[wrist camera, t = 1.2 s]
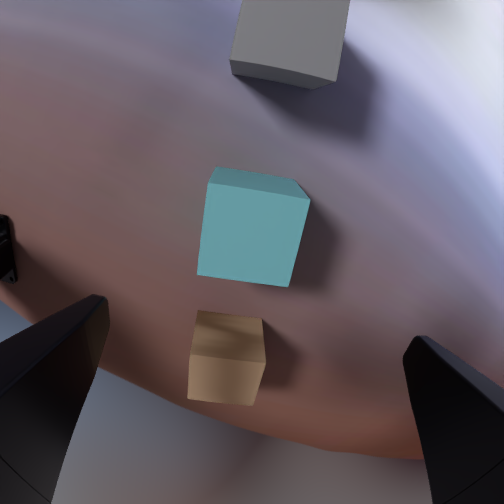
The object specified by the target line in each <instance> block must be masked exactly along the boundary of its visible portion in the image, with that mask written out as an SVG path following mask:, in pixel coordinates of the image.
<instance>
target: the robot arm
mask: <svg viewBox="0 0 504 504" xmlns="http://www.w3.org/2000/svg"><path fill="white" fill-rule="evenodd" d="M0 280H1V281H5V282H8V283H12V284H14V283H15V282H16V281H17V274H16V269H15V264H14V258H13V252H12V246H11V239H10V232H9V224H8V218H7V217H6V216H5V215H2V214H0ZM109 326H110V319H109V308H108V300H107V298H106V297H104V296H99V295H95V294H92V295H90V296H88V297H86V298H84V299H82V300H80V301H78V302H76V303H74V304H72V305H70V306H68V307H66V308H64V309H63V310H61V311H59V312H57V313H55V314H53V315H51V316H49V317H47V318H45V319H43V320H42V321H40V322H38V323H36V324H34V325H32V326H30V327H29V328H27V329H25V330H23V331H21V332H19V333H17V334H15V335H13V336H12V337H10V338H8V339H6V340H4V341H3V342H1V343H0V504H51V501H52V498H53V495H54V491H55V488H56V484H57V481H58V477H59V474H60V471H61V467H62V464H63V461H64V458H65V455H66V452H67V449H68V446H69V443H70V440H71V437H72V434H73V431H74V429H75V426H76V423H77V421H78V418H79V415H80V412H81V410H82V407H83V404H84V402H85V399H86V397H87V394H88V392H89V389H90V387H91V384H92V382H93V379H94V377H95V374H96V370H97V367H98V364H99V360H100V357H101V353H102V350H103V347H104V344H105V340H106V337H107V334H108V331H109ZM403 366H404V371H405V376H406V381H407V387H408V392H409V397H410V402H411V406H412V410H413V414H414V418H415V421H416V425H417V429H418V433H419V437H420V442H421V446H422V450H423V455H424V459H425V464H426V469H427V473H428V479H429V485H430V490H431V496H432V502H433V504H504V389H503V388H501V387H500V386H499V385H497V384H496V383H494V382H493V381H492V380H490V379H489V378H487V377H486V376H484V375H483V374H482V373H480V372H479V371H477V370H476V369H474V368H473V367H472V366H470V365H469V364H467V363H466V362H464V361H463V360H461V359H460V358H459V357H457V356H456V355H454V354H453V353H451V352H450V351H448V350H447V349H445V348H444V347H442V346H441V345H439V344H438V343H436V342H435V341H434V340H432V339H431V338H429V337H427V336H415V337H414V338H413V340H412V341H411V343H410V345H409V347H408V348H407V350H406V352H405V353H404V355H403Z"/></svg>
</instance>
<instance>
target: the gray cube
mask: <svg viewBox="0 0 504 504" xmlns="http://www.w3.org/2000/svg"><path fill="white" fill-rule="evenodd" d="M349 3H350V0H242V4H241V8H240V13H239V17H238V22H237V26H236V31H235V35H234V40H233V44H232V49H231V54H230V59H229V60H230V65H231V70H232V74H234V75H240V76H247V77H253V78H259V79H264V80H270V81H275V82H280V83H285V84H289V85H294V86H298V87H303V88H307V89H311V90H314V89H317V88H319V87H322V86H325V85H328V84H331V83H334V82H336V80H337V74H338V69H339V63H340V58H341V52H342V46H343V41H344V35H345V29H346V22H347V16H348V10H349Z"/></svg>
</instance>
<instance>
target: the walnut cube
mask: <svg viewBox="0 0 504 504" xmlns="http://www.w3.org/2000/svg"><path fill="white" fill-rule="evenodd" d="M265 365H266V356H265V346H264V337H263V327H262V318H253V317H245V316H237V315H229V314H222V313H214V312H207V311H200V310H198V313H197V318H196V324H195V329H194V335H193V340H192V346H191V352H190V362H189V379H188V398H187V399H193V400H201V401H209V402H217V403H227V404H237V405H250V406H253V403H254V400H255V397H256V394H257V391H258V388H259V385H260V381H261V378H262V375H263V372H264V368H265Z"/></svg>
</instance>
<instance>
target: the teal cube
mask: <svg viewBox="0 0 504 504" xmlns="http://www.w3.org/2000/svg"><path fill="white" fill-rule="evenodd" d="M309 204H310V199H309V197H308V196H307V195H306V194H305V192H304V191H303V190H302V189H301V188H300V186H299V185H298V184H297V183H296V181H295V180H293V179H288V178H283V177H278V176H272V175H266V174H261V173H255V172H249V171H243V170H236V169H230V168H223V167H216V168H215V170H214V172H213V174H212V176H211V178H210V180H209V182H208V188H207V195H206V202H205V210H204V217H203V225H202V233H201V242H200V250H199V259H198V269H197V275H202V276H209V277H216V278H223V279H230V280H238V281H245V282H252V283H260V284H267V285H275V286H283V287H288V286H289V282H290V278H291V274H292V271H293V267H294V263H295V259H296V256H297V252H298V248H299V244H300V240H301V236H302V232H303V228H304V224H305V220H306V216H307V212H308V208H309Z"/></svg>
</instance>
